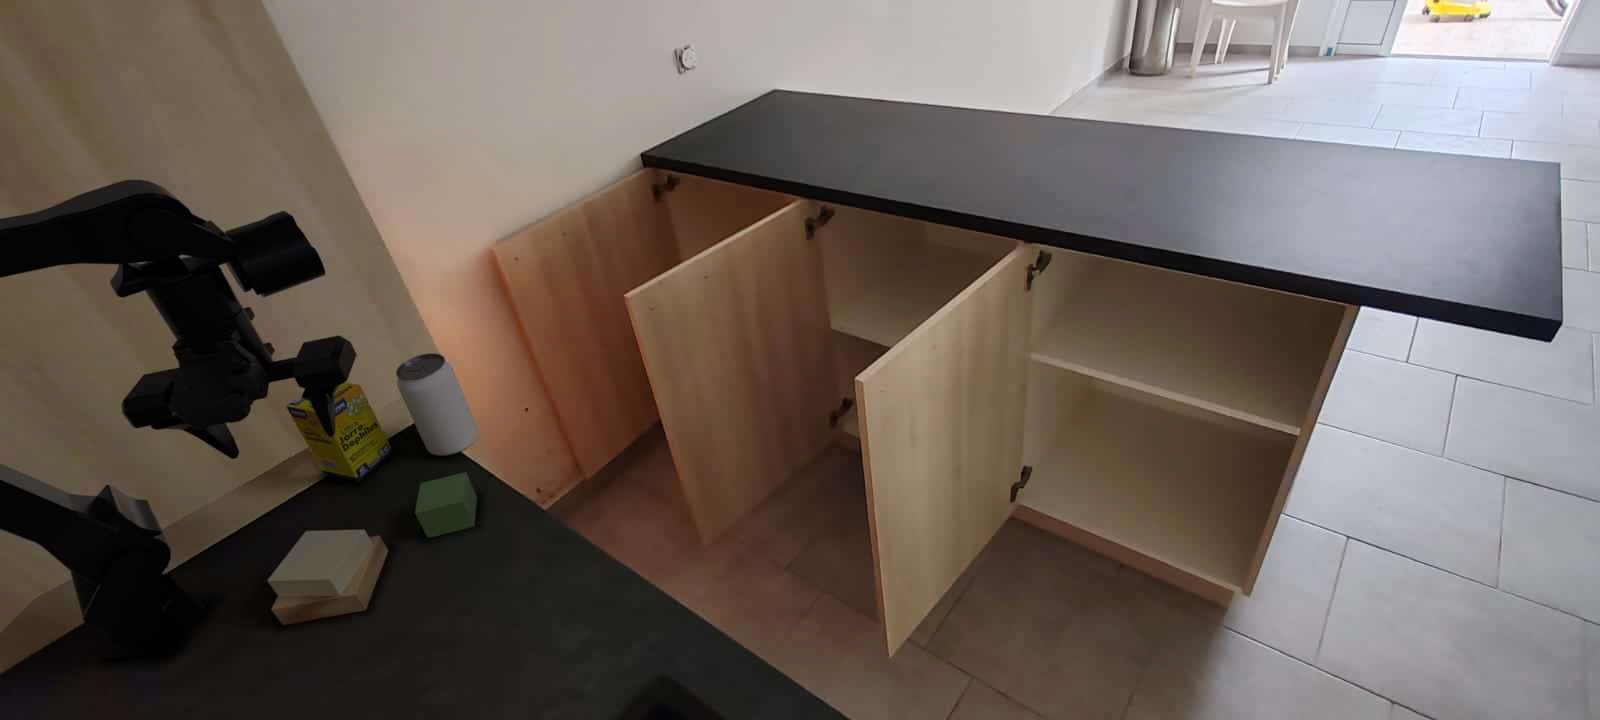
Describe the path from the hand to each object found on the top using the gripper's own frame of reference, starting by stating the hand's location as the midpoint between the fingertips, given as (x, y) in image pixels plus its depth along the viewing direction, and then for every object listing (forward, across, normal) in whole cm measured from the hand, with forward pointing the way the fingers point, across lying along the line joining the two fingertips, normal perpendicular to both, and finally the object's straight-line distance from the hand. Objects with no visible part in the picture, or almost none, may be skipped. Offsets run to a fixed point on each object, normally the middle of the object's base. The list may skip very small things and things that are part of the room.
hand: (285, 445), depth 77 cm
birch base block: (+13, +2, -9) cm, 16 cm away
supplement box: (+13, 0, +12) cm, 18 cm away
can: (+13, +12, +12) cm, 22 cm away
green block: (+13, +13, -2) cm, 18 cm away
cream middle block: (+10, +2, -9) cm, 14 cm away
